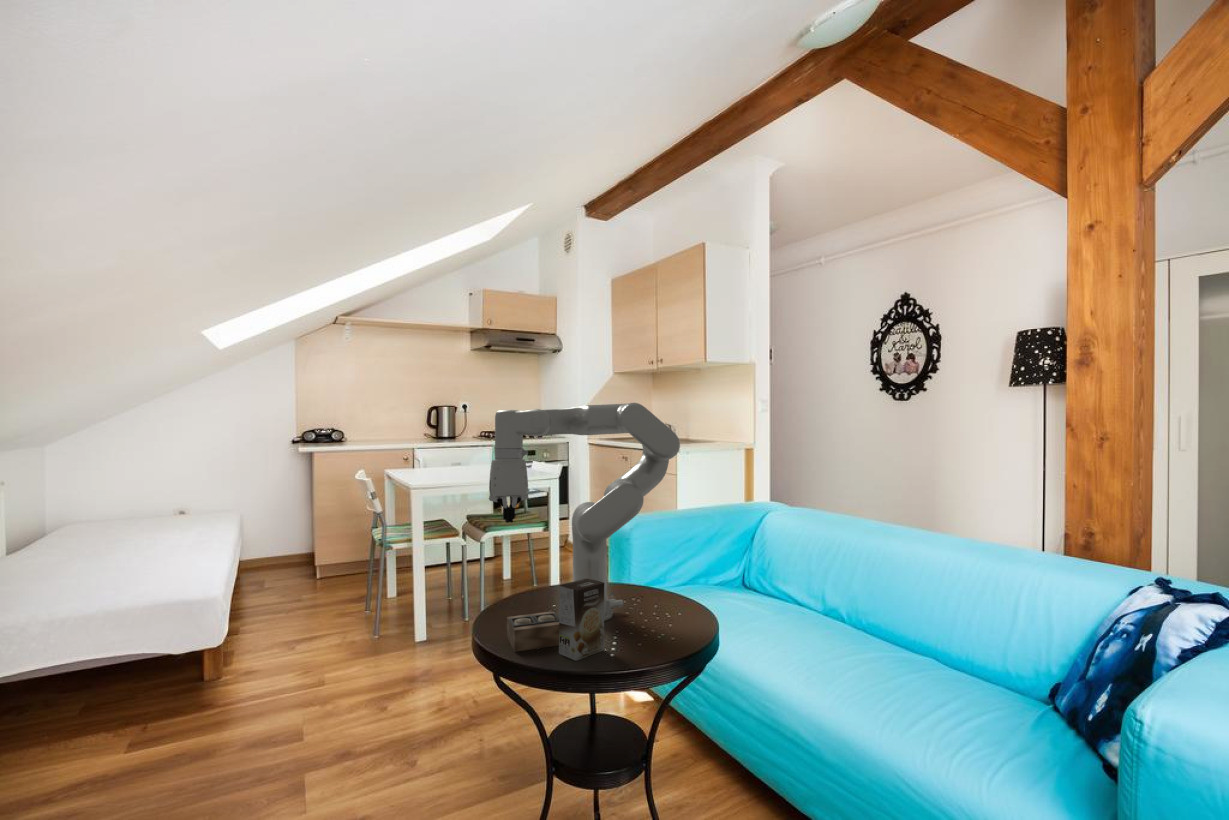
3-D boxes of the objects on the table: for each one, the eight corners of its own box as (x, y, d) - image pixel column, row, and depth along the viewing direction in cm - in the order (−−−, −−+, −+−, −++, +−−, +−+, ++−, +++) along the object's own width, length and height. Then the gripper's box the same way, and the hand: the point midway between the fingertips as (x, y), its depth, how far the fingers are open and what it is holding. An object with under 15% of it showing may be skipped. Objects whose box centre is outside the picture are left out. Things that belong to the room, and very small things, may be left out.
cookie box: (576, 662, 128) (576, 590, 128) (558, 654, 132) (558, 585, 133) (605, 650, 135) (604, 582, 135) (586, 643, 139) (586, 577, 139)
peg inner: (552, 632, 144) (552, 614, 144) (556, 637, 141) (556, 619, 141) (536, 634, 143) (536, 616, 143) (540, 639, 139) (540, 621, 139)
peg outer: (529, 635, 142) (529, 617, 142) (532, 641, 138) (532, 622, 139) (513, 637, 141) (513, 619, 141) (516, 643, 137) (516, 624, 137)
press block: (553, 630, 147) (553, 610, 148) (563, 644, 138) (563, 622, 138) (506, 637, 143) (506, 615, 143) (514, 651, 134) (514, 629, 134)
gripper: (532, 453, 162) (532, 518, 161) (479, 454, 156) (479, 521, 156) (538, 454, 155) (538, 522, 154) (483, 456, 149) (483, 526, 149)
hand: (508, 521), depth 155 cm, fingers closed
